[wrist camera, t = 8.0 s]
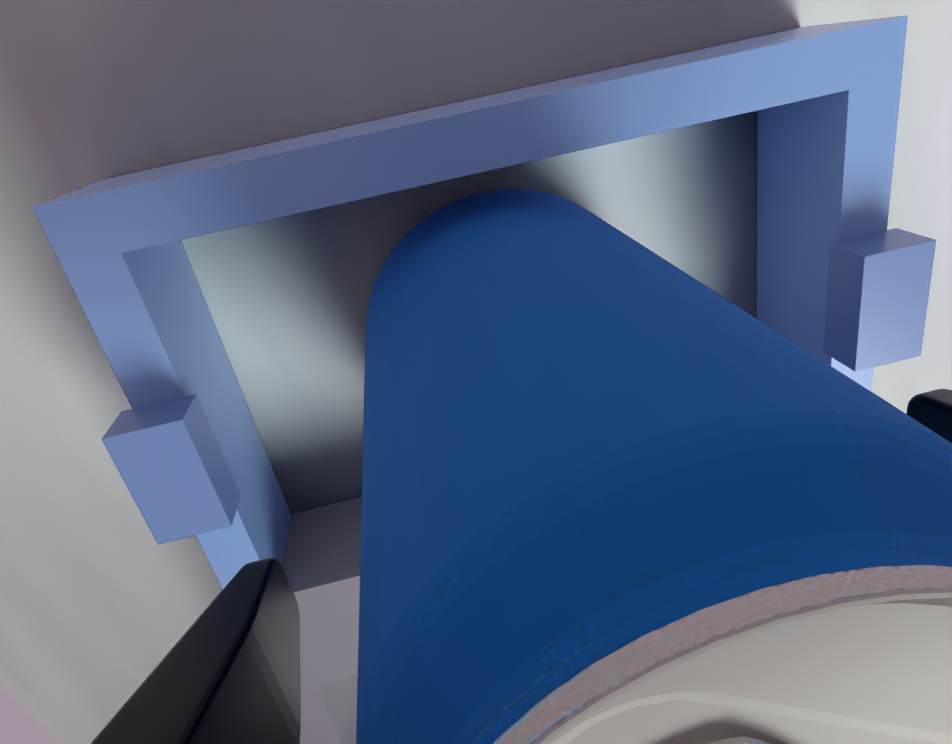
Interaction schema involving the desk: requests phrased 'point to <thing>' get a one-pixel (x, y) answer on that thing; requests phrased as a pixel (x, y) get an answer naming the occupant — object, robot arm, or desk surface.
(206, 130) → the desk surface
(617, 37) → the desk surface
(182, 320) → the slot holder
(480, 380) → the beverage can
